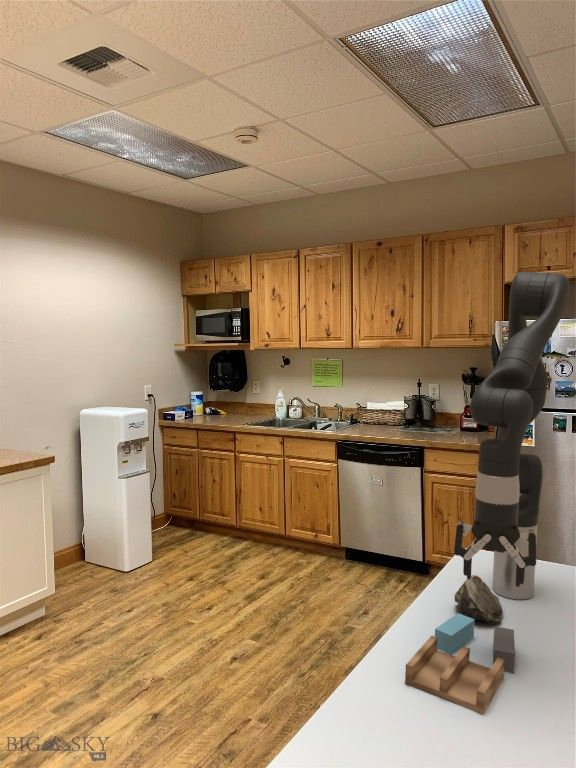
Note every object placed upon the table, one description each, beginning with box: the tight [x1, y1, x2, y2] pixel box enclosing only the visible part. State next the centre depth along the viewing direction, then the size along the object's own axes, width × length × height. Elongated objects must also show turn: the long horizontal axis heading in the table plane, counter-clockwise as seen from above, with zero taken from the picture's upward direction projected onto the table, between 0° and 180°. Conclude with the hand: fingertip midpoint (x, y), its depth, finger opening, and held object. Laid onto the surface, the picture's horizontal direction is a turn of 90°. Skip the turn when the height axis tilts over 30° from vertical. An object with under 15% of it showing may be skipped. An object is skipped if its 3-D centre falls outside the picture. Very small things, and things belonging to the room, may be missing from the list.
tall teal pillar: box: [434, 613, 475, 655], centre depth 116 cm, size 9×4×4 cm, turn 135°
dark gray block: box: [492, 626, 516, 674], centre depth 110 cm, size 9×4×4 cm, turn 160°
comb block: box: [404, 635, 505, 715], centre depth 103 cm, size 12×14×4 cm
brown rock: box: [454, 574, 504, 625], centre depth 126 cm, size 11×9×10 cm
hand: (493, 581), depth 108 cm, fingers open, 8 cm apart
